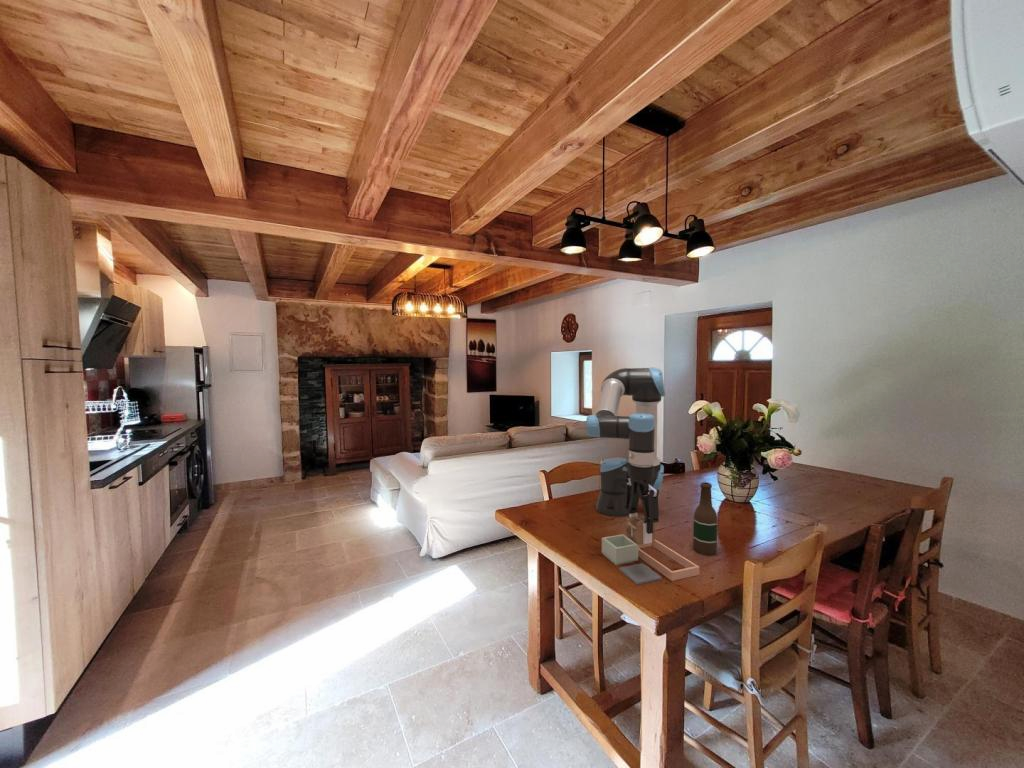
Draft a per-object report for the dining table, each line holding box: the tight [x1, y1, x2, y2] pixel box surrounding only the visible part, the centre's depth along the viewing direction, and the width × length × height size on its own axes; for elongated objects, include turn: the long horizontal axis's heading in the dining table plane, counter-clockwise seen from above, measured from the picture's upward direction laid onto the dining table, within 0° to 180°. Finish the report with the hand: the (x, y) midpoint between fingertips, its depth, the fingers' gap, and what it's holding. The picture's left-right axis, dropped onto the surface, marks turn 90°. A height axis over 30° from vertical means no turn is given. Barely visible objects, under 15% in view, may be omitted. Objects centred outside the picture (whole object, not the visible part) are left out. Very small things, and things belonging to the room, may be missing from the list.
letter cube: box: [625, 515, 656, 545], centre depth 119 cm, size 6×6×6 cm
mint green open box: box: [601, 533, 639, 566], centre depth 130 cm, size 9×9×6 cm
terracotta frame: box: [638, 539, 701, 582], centre depth 127 cm, size 22×11×2 cm, turn 19°
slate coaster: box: [618, 562, 663, 586], centre depth 119 cm, size 9×9×1 cm
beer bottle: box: [692, 481, 718, 557], centre depth 134 cm, size 8×8×24 cm
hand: (640, 538), depth 119 cm, fingers closed on letter cube, 6 cm apart
